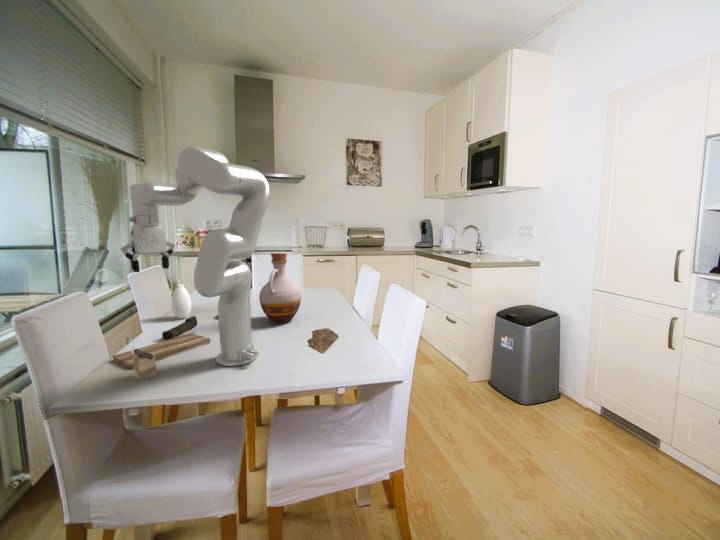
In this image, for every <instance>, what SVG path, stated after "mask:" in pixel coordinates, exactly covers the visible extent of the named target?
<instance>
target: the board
mask: <svg viewBox="0 0 720 540" xmlns="http://www.w3.org/2000/svg"><path fill="white" fill-rule="evenodd" d="M206 343H208V344H210V343H211V338H209V337H205V336H202V335H199V334H195V333H192V332H189V333H185V334H182V335H178V336H176V337H174V338H172V339H169V340H162V341H159V342H155V343H153V344H149V345H146V346H143V347H142V346H141V347H140V348H138V349H139V350H142V351H144V352H147V353H150V354H152V355H155V362H158V361H161V360H164V359H167V358H170V357H172V355H173V356H175V354H176V355H179V354H181V353H180V352H182V353H184V352H183V351H185V352H187V351H186V350H188V351H190V350H189V349H191V350H193V349H195V347H196V348H198V347H197V346H199V347H201V346H200V345H202V346H204V345H203V344H205V345H207V344H206ZM192 348H193V349H192ZM134 350H135V349H132V350H129V351H126V352H123V353H119V354H115V355H113V356H112V358H113V359H112V361H114V362H116V363H117V364H120V365H121V366H123V367H126V368H128V369H130V370H134V367H133V358H132V357H135V356H138V354H135V353H134ZM178 353H179V354H178ZM169 356H170V357H169ZM166 357H167V358H166ZM163 358H164V359H163ZM160 359H161V360H160ZM157 360H158V361H157Z"/></svg>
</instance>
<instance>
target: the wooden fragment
mask: <svg viewBox="0 0 720 540" xmlns="http://www.w3.org/2000/svg"><path fill="white" fill-rule="evenodd" d="M311 332H312V335H311V336H312V337H311V338H308V339H307V342H308V347H310V348H312V349H313V350H316V351H318V353H320V354H322V355H323V354H325V353H326V351H327V350H328V349H330V348H331V346H332V344H333V343H334V342H335V341H336V340H337V339H338V338H339V335H338V334H337V333H336V332H334V330H331V329H330V327H324V328H323V327H322V328H320V329H314V330H312V331H311Z"/></svg>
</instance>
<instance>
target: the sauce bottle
mask: <svg viewBox="0 0 720 540" xmlns="http://www.w3.org/2000/svg"><path fill="white" fill-rule="evenodd" d="M171 308H172V312H173V314H174V315H175V317H177V318H179V319H181V320H183V319H182V318H184V319H187V317H188V316H189V315H190V314H191V311H192V300H191V296H190V294H189V291H188V290H187V289H186V287H185V286H184V284H182V283H181V279H180V278H179V279H178V284H177V285H176V287H175V289H174V292H173V294H172V297H171Z"/></svg>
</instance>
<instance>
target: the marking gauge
mask: <svg viewBox="0 0 720 540" xmlns="http://www.w3.org/2000/svg"><path fill="white" fill-rule="evenodd" d="M133 350H134V353H135V354H138V356H135V357H132V358H133V367H134V369H133V374H134V378H135V377H136V378H135V379H137V378H138V379H137V380H139V379H140V380H139V381H141V380H143V379H145V380H147V379H146V378H148V379H150V378H149V377H151V376H153V377H155V376H154V375H156V376H157V375H158V374H157V365H156V361H155V355H152V354H150V353H147V352H144V351H142V350H139V348H135V349H133ZM151 378H152V377H151ZM143 381H144V380H143Z"/></svg>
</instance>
